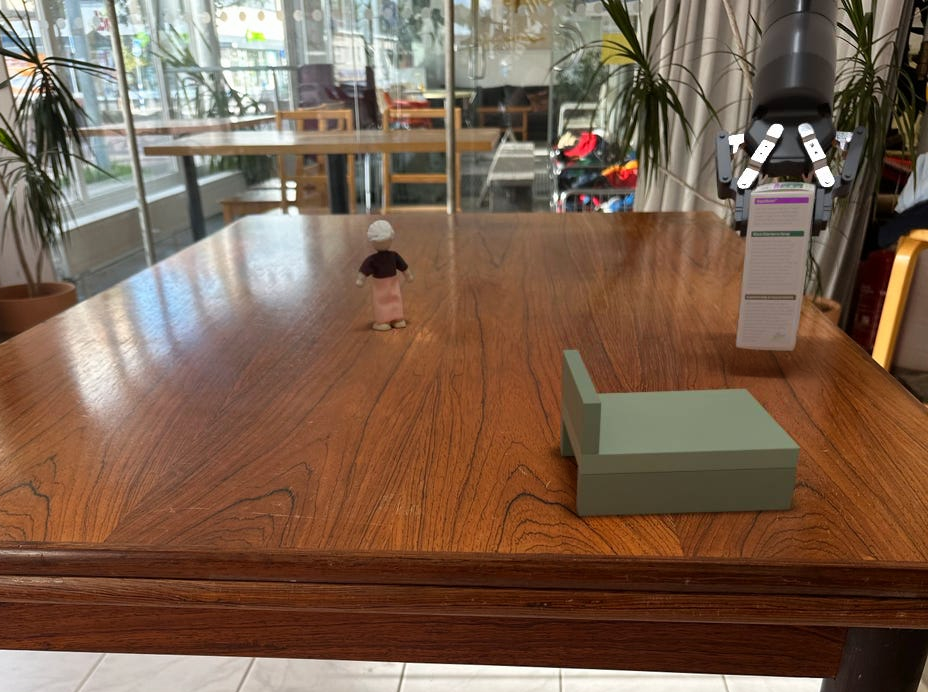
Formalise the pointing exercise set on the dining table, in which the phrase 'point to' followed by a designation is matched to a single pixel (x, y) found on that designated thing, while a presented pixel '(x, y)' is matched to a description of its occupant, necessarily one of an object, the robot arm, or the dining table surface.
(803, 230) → the syrup box
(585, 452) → the toy bed
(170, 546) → the dining table surface
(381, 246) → the grandmother figurine
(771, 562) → the dining table surface
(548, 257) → the dining table surface
